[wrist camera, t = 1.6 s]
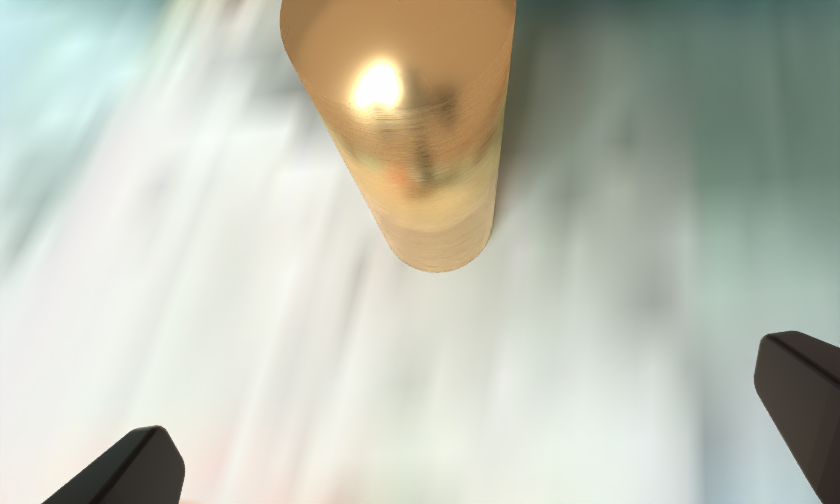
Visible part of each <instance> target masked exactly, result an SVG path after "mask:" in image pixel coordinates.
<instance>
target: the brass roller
mask: <svg viewBox="0 0 840 504" xmlns="http://www.w3.org/2000/svg"><path fill="white" fill-rule="evenodd" d="M515 15H516V0H282V5H281V11H280V30H281V37H282V41H283V44H284V48H285V50H286V52H287V54H288V56H289V59H290V61H291V63H292V64H293V66H294V68H295V70H296V72H297V74H298V76H299V78H300V79H301V81H302V83H303V85H304V87H305V89H306V91H307V92H308V94H309V96H310V98H311V100H312V102H313V104H314V106H315V107H316V109H317V111H318V113H319V115H320V117H321V119H322V121H323V122H324V124H325V126H326V128H327V130H328V132H329V134H330V136H331V137H332V139H333V141H334V143H335V145H336V147H337V149H338V151H339V152H340V154H341V156H342V158H343V160H344V162H345V164H346V166H347V167H348V169H349V171H350V173H351V175H352V177H353V179H354V181H355V182H356V184H357V186H358V188H359V190H360V192H361V194H362V195H363V197H364V199H365V201H366V203H367V205H368V207H369V209H370V210H371V212H372V214H373V216H374V218H375V220H376V222H377V224H378V225H379V227H380V229H381V231H382V233H383V235H384V237H385V239H386V240H387V242H388V244H389V246H390V248H391V249H392V251H393V252H394V253H395V254H396V256H397V257H398V258H399V259H401V260H402V261H403V262H404V263H406V264H408V265H409V266H411V267H413V268H415V269H418V270H421V271H426V272H435V273H439V272H447V271H452V270H455V269H458V268H460V267H462V266H464V265H466V264H468V263H469V262H471V261H472V260H473V259H474V258H476V257H477V256H478V255H479V254H480V252H481V251H482V250H483V248H484V247H485V245H486V244H487V242H488V240H489V237H490V234H491V231H492V225H493V216H494V207H495V198H496V188H497V179H498V170H499V161H500V152H501V143H502V134H503V124H504V115H505V106H506V97H507V88H508V79H509V70H510V60H511V51H512V42H513V33H514V24H515Z"/></svg>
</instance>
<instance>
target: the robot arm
mask: <svg viewBox="0 0 840 504" xmlns="http://www.w3.org/2000/svg"><path fill="white" fill-rule="evenodd" d="M754 385H755V389H756V391H757V394H758V396H759V397H760V399H761V401H762V403H763V404H764V406H765V408H766V409H767V411H768V413H769V415H770V416H771V418H772V420H773V422H774V423H775V425H776V427H777V428H778V430H779V432H780V434H781V435H782V437H783V439H784V441H785V442H786V444H787V446H788V447H789V449H790V451H791V453H792V454H793V456H794V458H795V460H796V461H797V463H798V465H799V466H800V468H801V470H802V472H803V473H804V475H805V477H806V478H807V480H808V482H809V483H810V485H811V487H812V488H813V490H814V491H815V493H816V495H817V496H818V497H819V499H820V500H821V502H822V503H823V504H840V348H839V347H836V346H834V345H831V344H829V343H826V342H824V341H821V340H819V339H816V338H814V337H811V336H809V335H806V334H804V333H801V332H798V331H785V332H778V333H772V334H767V335H765V336H764V337H763V338H762V339H761V341H760V345H759V351H758V356H757V362H756V367H755V373H754ZM184 477H185V465H184V461H183V458H182V456H181V455H180V453H179V451H178V449H177V448H176V446H175V444H174V442H173V441H172V439H171V437H170V435H169V434H168V432H167V430H166V429H165V428H163V427H162V426H158V425H155V426H148V427H142V428H137V429H134V430H132V431H130V432H129V433H128V434H126V435H125V436H124V437H123V438H121V439H120V440H119V441H118V442H117V443H115V444H114V445H113V446H112V447H110V448H109V449H108V450H107V451H105V452H104V453H103V454H102V455H101V456H99V457H98V458H97V459H96V460H94V461H93V462H92V463H91V464H90V465H88V466H87V467H86V468H85V469H83V470H82V471H81V472H80V473H79V474H77V475H76V476H75V477H74V478H72V479H71V480H70V481H69V482H68V483H66V484H65V485H64V486H63V487H61V488H60V489H59V490H58V491H57V492H55V493H54V494H53V495H52V496H50V497H49V498H48V499H47V500H45V501H44V502H43V503H42V504H179V500H180V495H181V491H182V486H183V482H184Z"/></svg>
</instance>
